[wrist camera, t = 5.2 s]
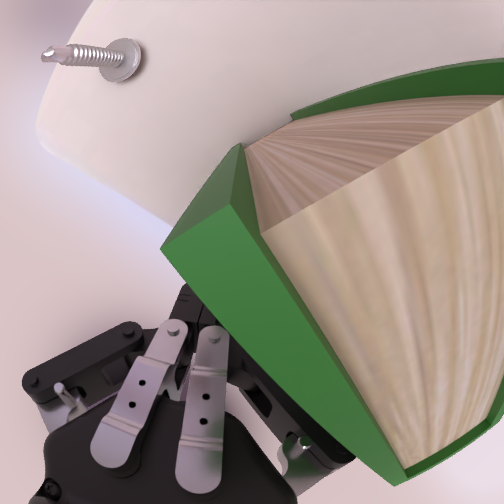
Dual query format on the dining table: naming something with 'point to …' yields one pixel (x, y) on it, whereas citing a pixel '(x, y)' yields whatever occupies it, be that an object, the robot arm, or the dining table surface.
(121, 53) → the screw
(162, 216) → the dining table surface
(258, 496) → the robot arm
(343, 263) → the hardback book
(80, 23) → the dining table surface
